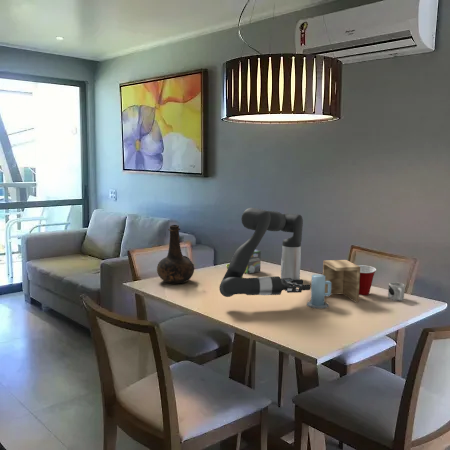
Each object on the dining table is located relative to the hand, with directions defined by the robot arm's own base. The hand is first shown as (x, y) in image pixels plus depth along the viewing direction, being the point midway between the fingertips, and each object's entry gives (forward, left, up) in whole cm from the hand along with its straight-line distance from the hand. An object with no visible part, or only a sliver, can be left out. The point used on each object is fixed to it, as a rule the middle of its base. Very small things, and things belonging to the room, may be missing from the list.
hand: (306, 284), depth 205 cm
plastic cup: (+29, +20, -9) cm, 37 cm away
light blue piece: (+6, +1, -9) cm, 11 cm away
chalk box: (-20, +61, -9) cm, 65 cm away
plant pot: (-28, +37, -9) cm, 48 cm away
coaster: (+5, +1, -9) cm, 11 cm away
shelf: (+17, +13, -9) cm, 23 cm away
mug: (+42, +10, -9) cm, 44 cm away
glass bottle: (-57, +38, -9) cm, 69 cm away
